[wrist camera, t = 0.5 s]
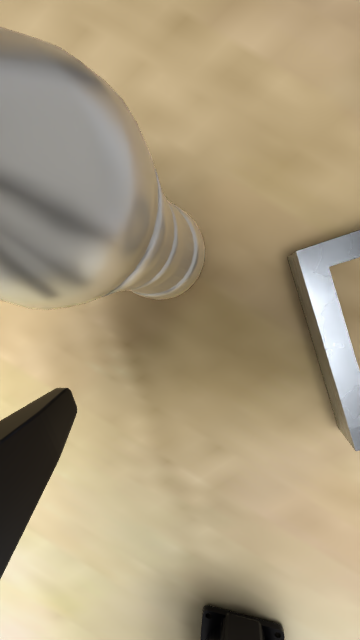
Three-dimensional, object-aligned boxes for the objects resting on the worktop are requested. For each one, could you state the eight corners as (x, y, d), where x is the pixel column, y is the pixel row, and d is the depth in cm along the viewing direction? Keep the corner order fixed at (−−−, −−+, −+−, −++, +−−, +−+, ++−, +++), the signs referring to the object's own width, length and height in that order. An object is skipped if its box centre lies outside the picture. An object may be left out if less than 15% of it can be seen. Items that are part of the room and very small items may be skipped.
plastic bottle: (161, 195, 21) (-611, -814, 2) (227, 253, 21) (95, -345, 1) (110, 260, 23) (-660, 59, 3) (171, 316, 22) (-311, 489, 3)
